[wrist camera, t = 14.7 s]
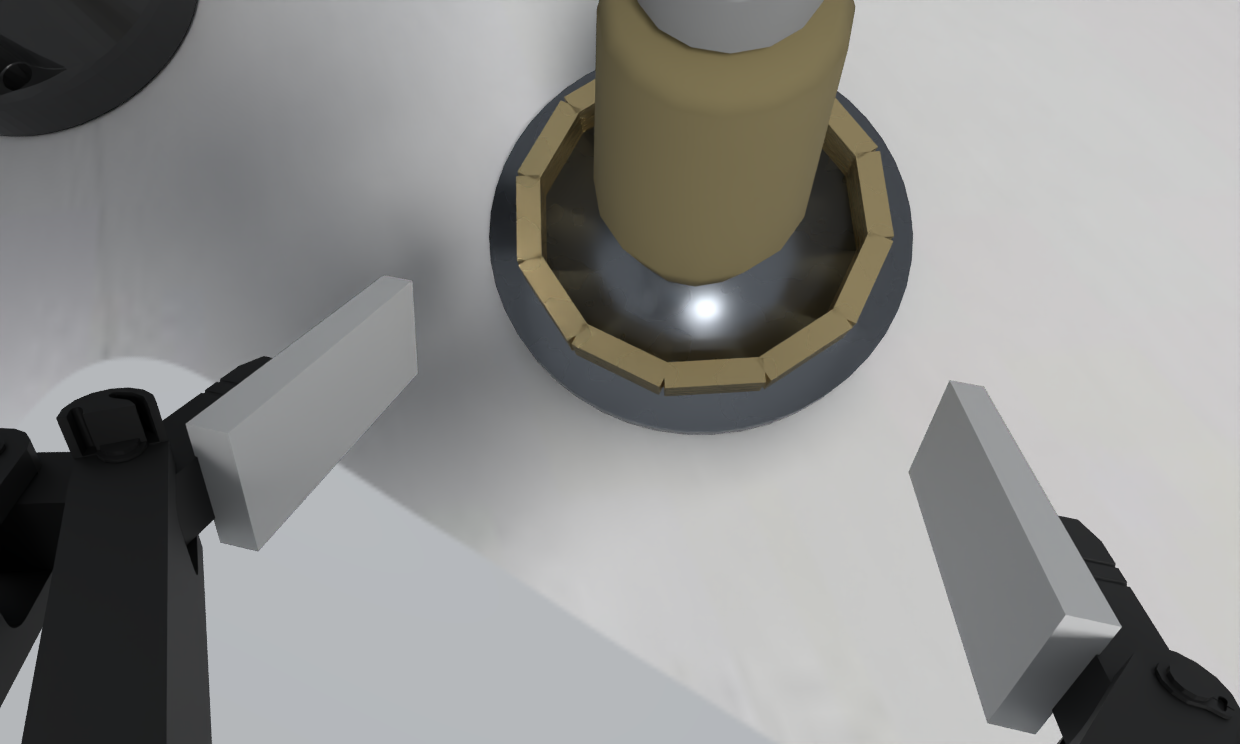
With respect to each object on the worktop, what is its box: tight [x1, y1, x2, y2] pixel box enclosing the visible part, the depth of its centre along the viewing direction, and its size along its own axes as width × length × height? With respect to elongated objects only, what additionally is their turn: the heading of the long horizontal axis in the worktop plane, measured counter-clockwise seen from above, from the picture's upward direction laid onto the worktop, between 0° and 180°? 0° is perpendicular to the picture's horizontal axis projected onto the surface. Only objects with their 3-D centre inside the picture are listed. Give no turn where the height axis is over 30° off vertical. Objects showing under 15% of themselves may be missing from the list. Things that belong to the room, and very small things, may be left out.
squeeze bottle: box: [593, 0, 855, 287], centre depth 19 cm, size 8×8×18 cm
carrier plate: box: [489, 70, 913, 435], centre depth 27 cm, size 18×18×2 cm
